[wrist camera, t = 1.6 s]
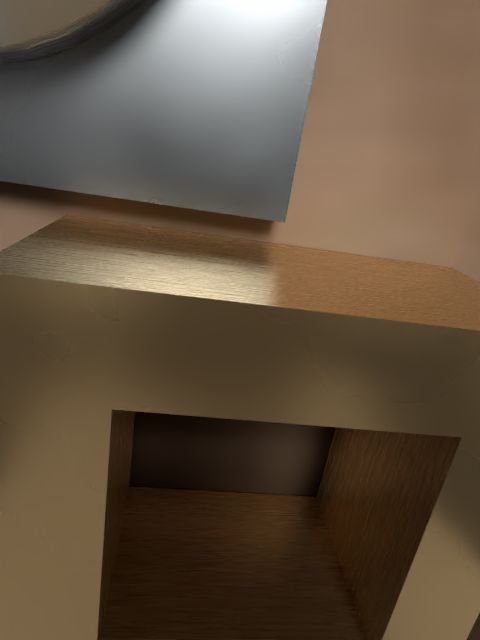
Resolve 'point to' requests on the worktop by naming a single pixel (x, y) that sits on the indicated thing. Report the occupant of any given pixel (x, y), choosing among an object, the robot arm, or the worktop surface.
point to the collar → (243, 404)
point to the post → (158, 99)
